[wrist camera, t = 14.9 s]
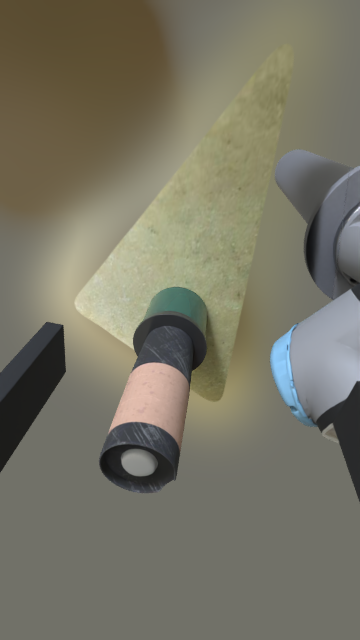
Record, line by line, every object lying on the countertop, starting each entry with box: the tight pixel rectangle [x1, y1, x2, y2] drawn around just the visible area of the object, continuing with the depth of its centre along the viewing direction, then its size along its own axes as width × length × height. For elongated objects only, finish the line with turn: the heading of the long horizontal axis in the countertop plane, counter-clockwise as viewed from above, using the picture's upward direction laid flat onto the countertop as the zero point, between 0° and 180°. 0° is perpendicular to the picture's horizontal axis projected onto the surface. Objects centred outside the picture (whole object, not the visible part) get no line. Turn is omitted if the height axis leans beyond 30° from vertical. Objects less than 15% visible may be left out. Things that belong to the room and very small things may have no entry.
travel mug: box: [99, 326, 194, 493], centre depth 39 cm, size 8×8×20 cm
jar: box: [133, 287, 207, 371], centre depth 52 cm, size 11×11×10 cm
